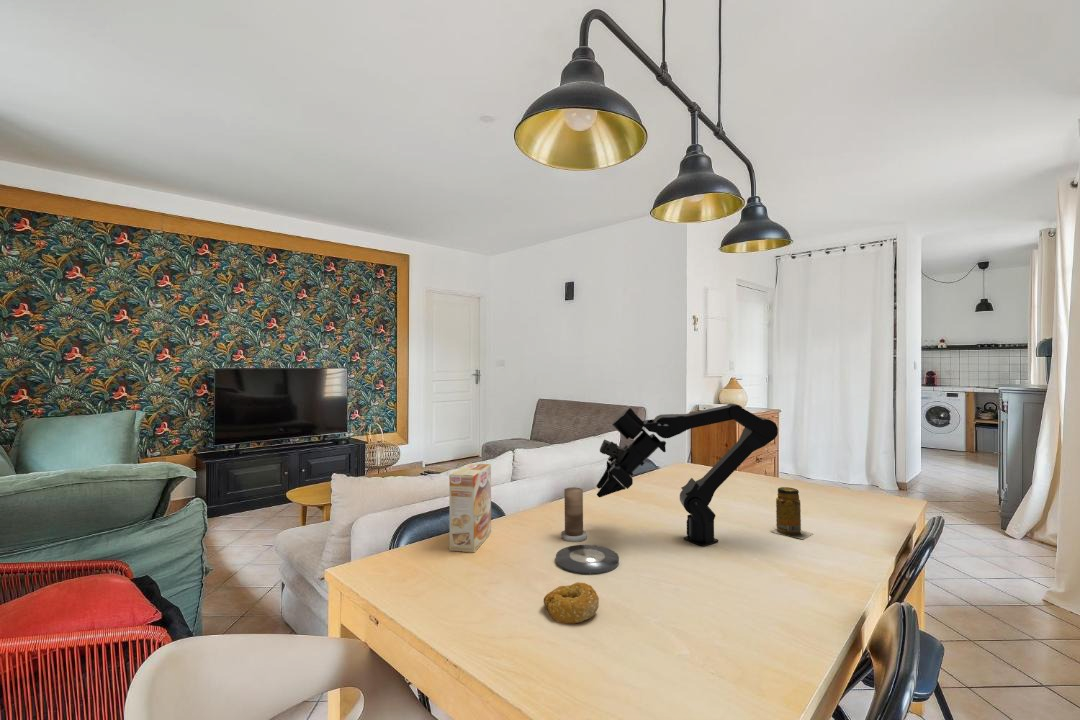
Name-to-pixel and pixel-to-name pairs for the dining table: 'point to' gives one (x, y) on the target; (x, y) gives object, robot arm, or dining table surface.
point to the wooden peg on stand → (573, 516)
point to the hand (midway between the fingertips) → (597, 491)
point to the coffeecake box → (470, 507)
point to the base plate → (587, 559)
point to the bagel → (572, 603)
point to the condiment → (789, 513)
